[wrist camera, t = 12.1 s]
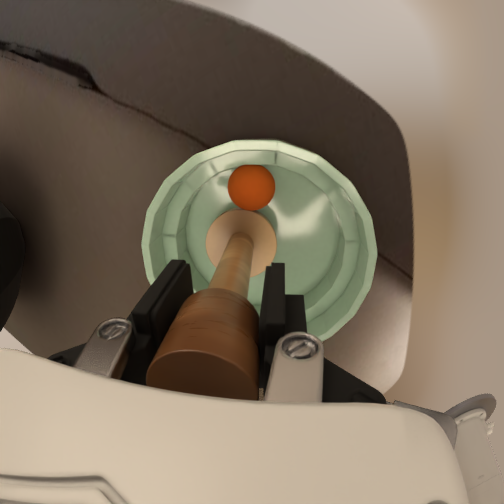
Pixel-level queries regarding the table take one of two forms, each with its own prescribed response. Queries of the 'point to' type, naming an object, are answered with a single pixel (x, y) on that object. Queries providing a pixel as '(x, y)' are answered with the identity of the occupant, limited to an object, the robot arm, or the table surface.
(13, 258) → the table lamp
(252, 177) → the ball
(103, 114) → the table surface
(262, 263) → the brown long flanged bar
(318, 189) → the bowl
